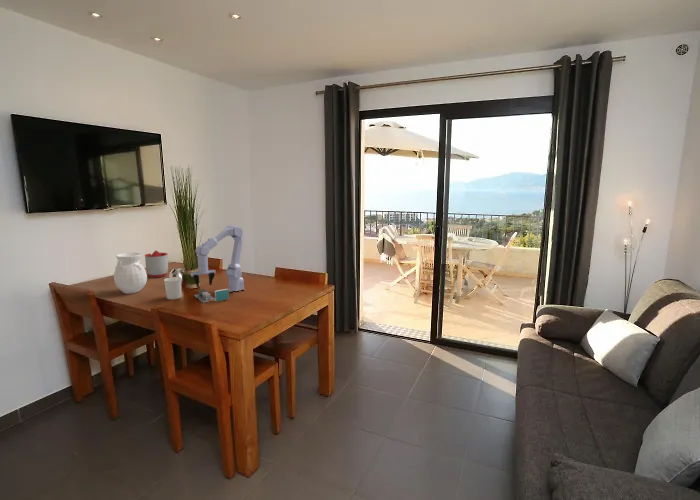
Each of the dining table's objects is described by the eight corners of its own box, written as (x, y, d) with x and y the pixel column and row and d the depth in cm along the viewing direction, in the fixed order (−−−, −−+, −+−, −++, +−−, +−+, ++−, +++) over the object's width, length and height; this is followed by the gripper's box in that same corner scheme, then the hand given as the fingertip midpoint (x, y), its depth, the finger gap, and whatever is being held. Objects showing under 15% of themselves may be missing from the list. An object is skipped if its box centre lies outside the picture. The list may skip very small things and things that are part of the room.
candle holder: (163, 300, 223) (162, 281, 221) (167, 295, 232) (165, 277, 230) (181, 299, 226) (179, 280, 223) (183, 294, 235) (182, 276, 233)
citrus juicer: (165, 272, 291) (164, 247, 288) (171, 276, 278) (169, 251, 275) (144, 274, 281) (141, 249, 278) (148, 279, 268) (146, 253, 265)
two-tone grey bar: (203, 294, 234) (203, 289, 234) (210, 299, 224) (210, 294, 223) (199, 295, 232) (198, 289, 232) (206, 300, 222) (205, 295, 221)
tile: (228, 299, 227) (227, 288, 226) (229, 300, 226) (228, 289, 225) (215, 301, 222) (214, 290, 221) (216, 302, 221) (215, 291, 220)
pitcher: (133, 296, 229) (129, 258, 224) (108, 294, 232) (104, 256, 228) (154, 288, 247) (151, 252, 242) (131, 286, 250) (127, 251, 246)
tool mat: (206, 293, 237) (206, 292, 237) (216, 300, 224) (216, 300, 224) (194, 295, 233) (194, 295, 232) (202, 303, 219) (202, 302, 219)
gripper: (212, 262, 232) (213, 282, 234) (188, 265, 223) (190, 286, 225) (216, 264, 226) (217, 285, 229) (192, 267, 217) (193, 288, 220)
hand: (204, 285), depth 227 cm, fingers open, 7 cm apart
